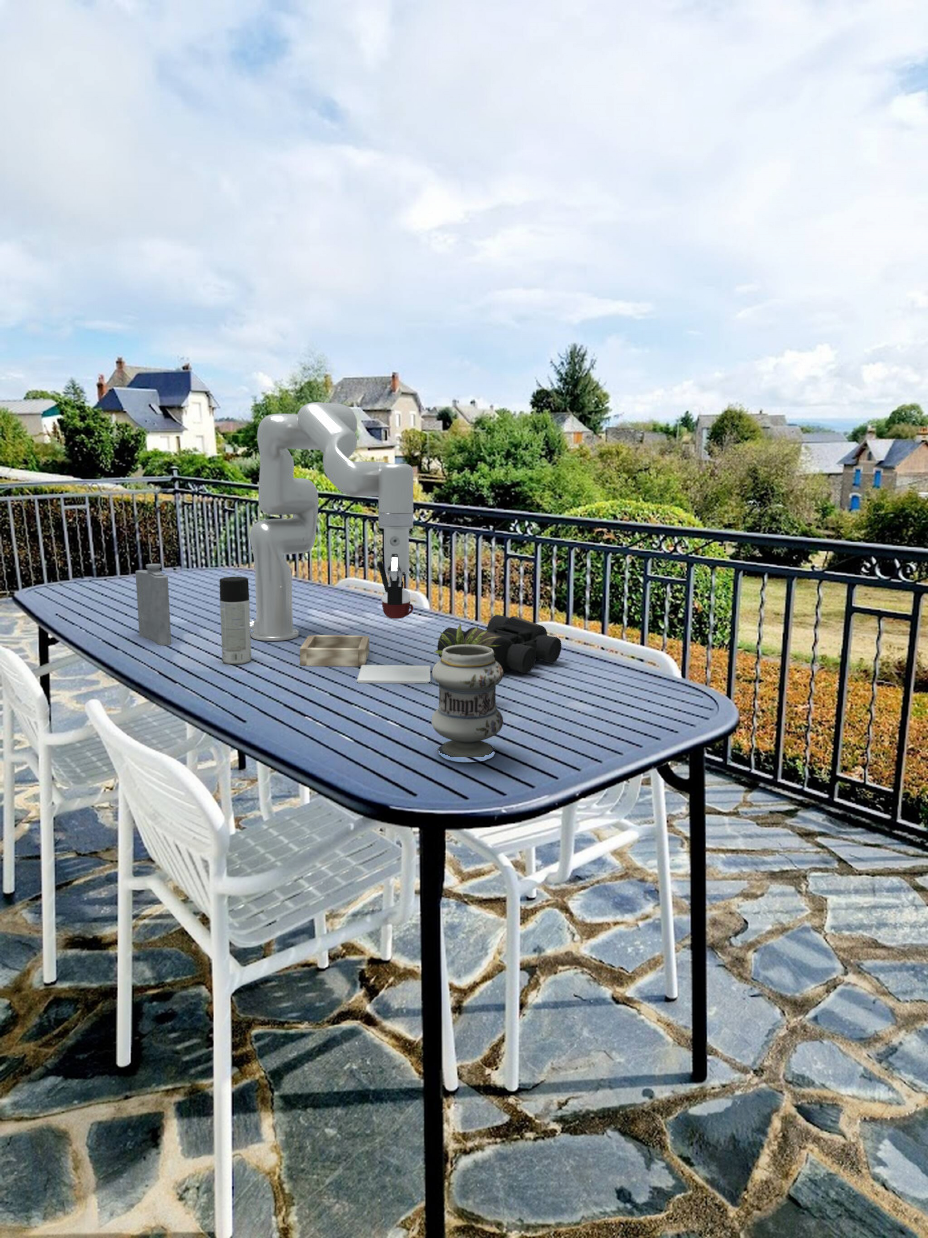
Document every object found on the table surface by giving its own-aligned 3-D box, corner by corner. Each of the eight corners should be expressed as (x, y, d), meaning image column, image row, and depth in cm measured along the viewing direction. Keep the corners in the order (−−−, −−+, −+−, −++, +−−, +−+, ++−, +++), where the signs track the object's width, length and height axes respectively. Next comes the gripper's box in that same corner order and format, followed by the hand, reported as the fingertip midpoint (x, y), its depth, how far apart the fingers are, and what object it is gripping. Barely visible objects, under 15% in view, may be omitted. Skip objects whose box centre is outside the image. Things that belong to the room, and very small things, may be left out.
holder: (299, 665, 187) (299, 649, 186) (309, 650, 202) (308, 635, 201) (364, 666, 188) (364, 650, 187) (369, 651, 203) (369, 635, 202)
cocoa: (417, 620, 177) (420, 567, 174) (392, 622, 173) (395, 567, 171) (395, 611, 184) (398, 560, 182) (371, 613, 181) (374, 560, 178)
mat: (357, 682, 174) (356, 680, 174) (361, 667, 187) (361, 665, 187) (430, 683, 175) (430, 681, 175) (430, 668, 188) (430, 665, 188)
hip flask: (137, 635, 215) (133, 561, 211) (152, 633, 217) (148, 560, 213) (161, 646, 203) (156, 568, 199) (176, 643, 206) (172, 567, 202)
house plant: (470, 719, 152) (472, 636, 148) (411, 706, 159) (412, 626, 156) (507, 701, 164) (509, 623, 160) (450, 690, 171) (452, 615, 167)
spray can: (257, 660, 192) (254, 577, 188) (238, 666, 186) (235, 581, 182) (235, 656, 194) (232, 575, 190) (216, 662, 188) (212, 578, 184)
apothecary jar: (443, 736, 142) (445, 638, 139) (509, 745, 139) (513, 644, 135) (420, 760, 131) (422, 654, 127) (491, 770, 127) (495, 661, 124)
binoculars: (500, 645, 212) (503, 608, 209) (568, 663, 200) (573, 625, 198) (434, 666, 188) (438, 625, 186) (508, 688, 177) (512, 645, 175)
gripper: (412, 524, 166) (411, 609, 169) (413, 518, 183) (413, 595, 186) (376, 524, 165) (376, 608, 169) (380, 517, 182) (380, 594, 186)
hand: (395, 601), depth 178 cm, fingers closed on cocoa, 6 cm apart
